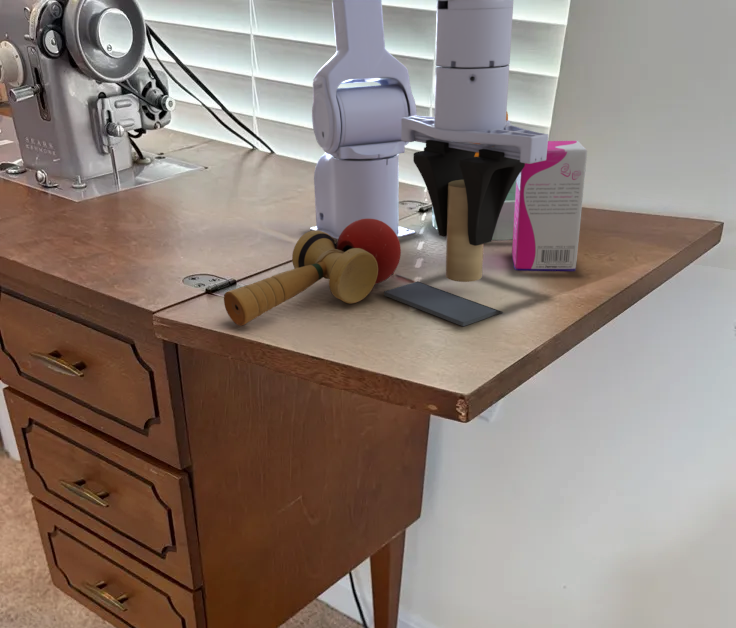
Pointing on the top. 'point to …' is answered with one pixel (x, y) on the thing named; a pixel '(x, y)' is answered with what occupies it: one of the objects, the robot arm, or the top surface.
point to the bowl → (501, 217)
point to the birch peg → (460, 238)
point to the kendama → (324, 269)
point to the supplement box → (549, 209)
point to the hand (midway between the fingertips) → (465, 238)
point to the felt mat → (441, 303)
